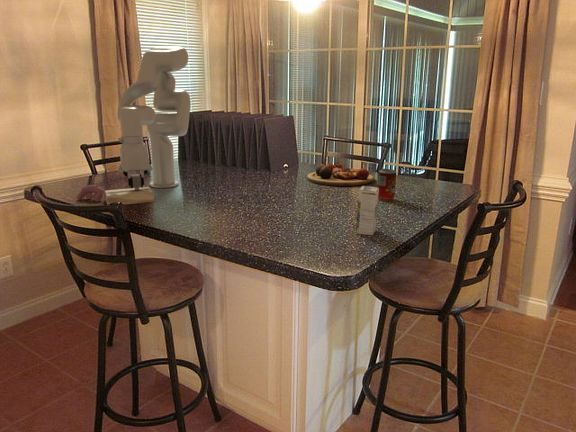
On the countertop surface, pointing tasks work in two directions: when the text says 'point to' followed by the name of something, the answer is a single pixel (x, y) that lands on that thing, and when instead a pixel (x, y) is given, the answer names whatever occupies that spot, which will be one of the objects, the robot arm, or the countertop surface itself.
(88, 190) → the pink domed lump
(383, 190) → the soda can
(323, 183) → the wooden plate with food
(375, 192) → the syrup box
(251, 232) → the countertop surface
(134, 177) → the fader knob
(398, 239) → the countertop surface
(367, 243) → the countertop surface
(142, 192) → the fader board
